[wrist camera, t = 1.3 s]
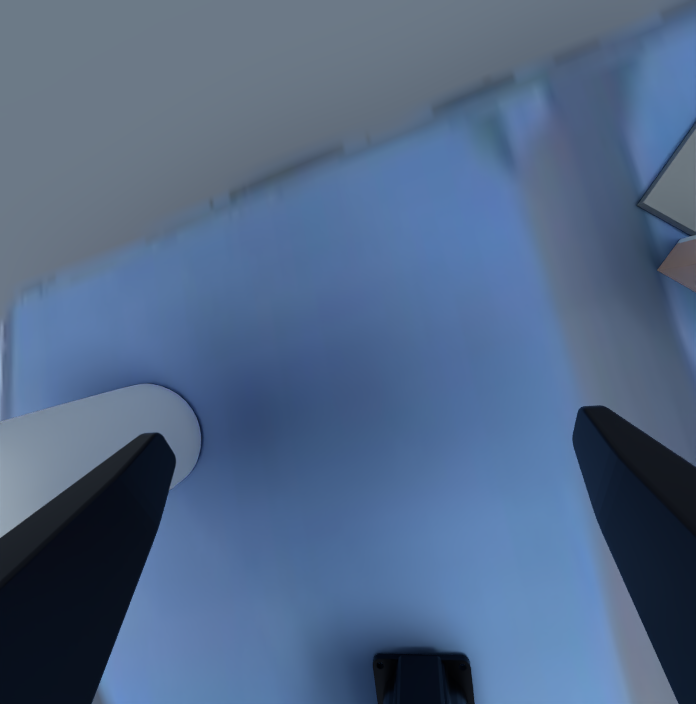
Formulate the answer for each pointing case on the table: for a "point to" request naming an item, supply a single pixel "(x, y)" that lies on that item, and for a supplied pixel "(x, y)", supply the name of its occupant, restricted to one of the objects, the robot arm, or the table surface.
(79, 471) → the milk bottle
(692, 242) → the tile
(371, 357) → the table surface
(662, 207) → the mat
